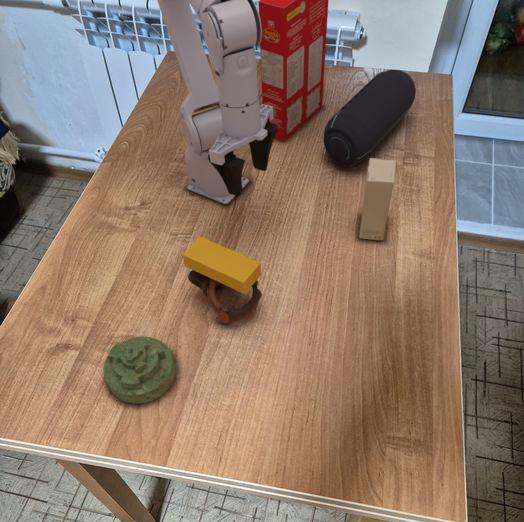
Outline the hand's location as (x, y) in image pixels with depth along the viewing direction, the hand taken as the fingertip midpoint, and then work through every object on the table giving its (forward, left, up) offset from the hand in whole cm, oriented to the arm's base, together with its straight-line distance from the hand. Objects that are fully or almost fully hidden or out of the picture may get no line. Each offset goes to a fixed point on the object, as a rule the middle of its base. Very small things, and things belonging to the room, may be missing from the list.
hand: (248, 181), depth 84 cm
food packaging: (-10, +33, -11) cm, 36 cm away
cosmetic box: (+19, +11, -11) cm, 24 cm away
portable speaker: (+6, +34, -11) cm, 36 cm away
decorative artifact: (+3, -34, -11) cm, 36 cm away
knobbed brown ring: (+6, -16, -11) cm, 20 cm away
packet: (+6, -16, -3) cm, 17 cm away
